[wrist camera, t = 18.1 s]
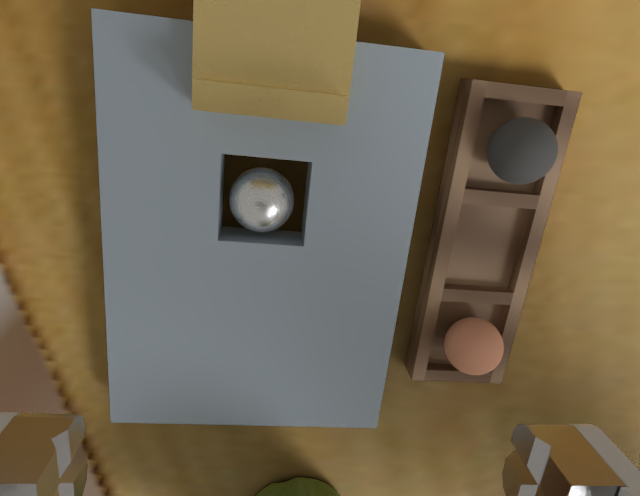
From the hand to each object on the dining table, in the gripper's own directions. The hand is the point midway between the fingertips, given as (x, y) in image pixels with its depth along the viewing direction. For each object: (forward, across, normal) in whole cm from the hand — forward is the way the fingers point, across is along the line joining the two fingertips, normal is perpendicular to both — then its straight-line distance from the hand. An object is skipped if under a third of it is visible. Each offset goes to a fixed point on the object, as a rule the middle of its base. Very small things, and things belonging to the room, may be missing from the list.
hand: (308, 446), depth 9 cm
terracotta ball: (+18, -12, +7) cm, 23 cm away
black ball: (+18, -12, -4) cm, 22 cm away
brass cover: (+16, +1, -8) cm, 19 cm away
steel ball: (+19, +1, 0) cm, 19 cm away
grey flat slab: (+19, +1, +2) cm, 19 cm away
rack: (+19, -12, +2) cm, 23 cm away
